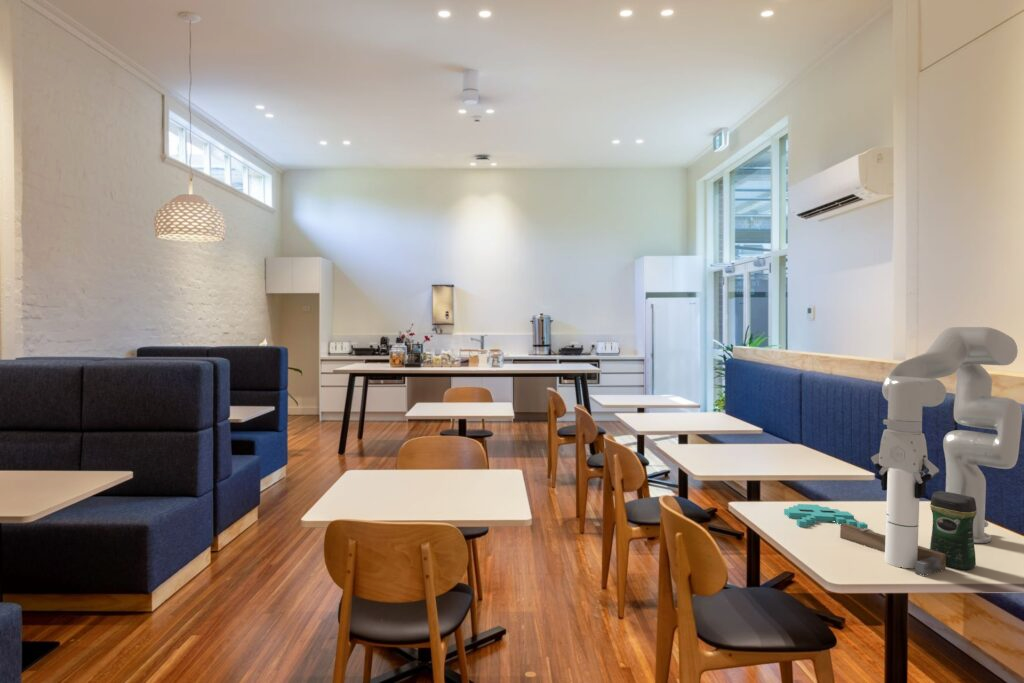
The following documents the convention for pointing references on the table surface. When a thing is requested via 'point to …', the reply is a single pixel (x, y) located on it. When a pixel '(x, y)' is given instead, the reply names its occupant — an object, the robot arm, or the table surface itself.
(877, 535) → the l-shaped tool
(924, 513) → the table surface
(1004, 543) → the table surface
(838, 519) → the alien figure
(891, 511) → the cylindrical container
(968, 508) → the coffee jar
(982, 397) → the robot arm
